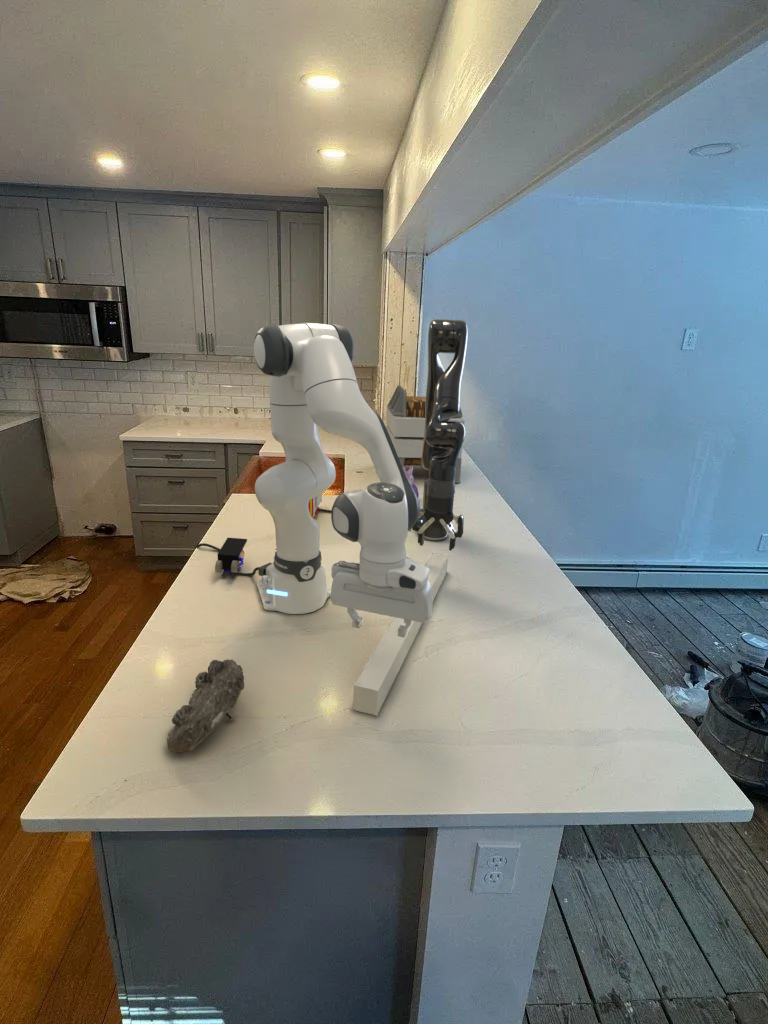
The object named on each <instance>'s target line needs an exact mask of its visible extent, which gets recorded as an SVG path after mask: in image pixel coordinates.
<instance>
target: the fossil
mask: <svg viewBox="0 0 768 1024" xmlns="http://www.w3.org/2000/svg"><path fill="white" fill-rule="evenodd" d="M243 670H244V669H243V667H242V665H240V664H237V662H236V661H235V660H234V659H232V658H231V659H227V658H226V659H224V660H223V661H222V660H217V659H212V660H211V661H210V663H209V665H208V666H207V671H201V672H199V673H198V674H197V675H196V676H195V680H194V684H195V685H194V687H195V689H194V690H193V693H192V694H191V697H190V698H189V700H188V704H184V705H182V706H181V707H180V709H177V710H176V711H175V713H174V715H173V716H172V718H171V723H172V724H173V727H172V730H171V731H170V732H168V734H167V738H166V741H167V742H166V745H167V749H168V750H169V751H173V752H174V753H176V754H178V753H182V752H188V751H189V752H192V751H193V750H195V748H196V747H197V746H199V744H200V743H201V742H203V741H204V740H205V739H206V738H207V737H208V736H209V735H210V734H211V733H212V732H214V730H215V729H217V727H218V726H219V724H220V722H221V721H222V720H223V719H224V718H225V716H226V717H227V719H229V720H233V717H232V715H230V714H229V710H230V709H231V708H234V706H235V704H236V703H237V702H238V699H239V697H240V695H241V693H242V691H243V690H245V689H244V688H245V675H244V671H243Z"/></svg>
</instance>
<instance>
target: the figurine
mask: <svg viewBox="0 0 768 1024" xmlns="http://www.w3.org/2000/svg"><path fill="white" fill-rule="evenodd" d="M402 468H403V470H404V473H405V475H406V477H407V479H408V481H409V483H410V485H411V487H412V488H413V490H414V491H415V493H416V495H417V497H418V498H419V496H420V495H419V494H420V493H419V490H418V487H417V486H416V484H415V478H414V476H413V471H414V466H410V467H408V469H407V468H406V467H405V466H404V467H402Z"/></svg>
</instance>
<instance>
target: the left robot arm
mask: <svg viewBox="0 0 768 1024" xmlns="http://www.w3.org/2000/svg"><path fill="white" fill-rule="evenodd" d="M354 355H355V345H354V340H353V337H352V335H351V333H350V331H349V329H348V328H346V327H345V326H343V325H340V324H336V323H329V324H325V323H317V322H301V323H288V324H281V325H278V324H270V325H267V326H263V327H261V328H260V329H258V331H257V333H256V334H255V336H254V341H253V356H254V359H255V363H256V366H257V367H258V369H259V370H260V371H261V372H262V373H263V374H265V375H267V376H269V411H270V426H271V428H270V429H271V435H272V437H273V438H274V440H275V441H277V442H278V443H280V445H281V446H282V448H283V452H284V455H285V461H284V462H281V463H278V464H276V465H273V466H271V467H269V468H268V469H267V470H265V471H264V472H263V473H261V474H260V475H259V476H258V477H257V478H256V481H255V483H254V494H255V497H256V500H257V502H258V503H259V505H260V506H261V507H262V508H263V509H265V510H266V511H268V512H269V513H270V516H271V518H272V522H273V524H274V529H275V530H274V531H275V549H274V550H275V552H274V556H273V562H268V563H266V564H263V565H261V566H257V567H254V569H253V571H252V572H247V573H245V572H239V571H237V572H236V573H235V575H236V576H245V577H253V576H254V575H255V574H256V573H257V572H258V576H260V577H261V580H258V581H257V585H256V586H257V590H258V594H259V596H260V599H261V602H262V606H263V609H264V610H266V611H276V612H280V613H283V614H288V615H305V614H309V613H312V612H315V611H318V610H320V609H321V608H323V606H324V605H325V604H326V602H327V599H328V598H329V599H330V601H331V603H332V605H334V606H337V607H342V608H346V612H347V614H348V616H349V617H350V619H351V620H352V623H351V624H352V625H351V626H352V628H356V629H361V627H362V626H363V617H362V616H359V614H358V612H357V611H362V612H366V613H371V614H377V615H382V616H387V617H391V618H394V617H396V618H401V619H404V623H406V624H405V625H400V626H399V628H398V636H399V637H404V638H405V637H406V634H407V629H408V627H409V626H410V625H411V623H412V621H416V622H421V623H422V624H425V623H427V622H428V621H429V620H430V618H431V616H432V614H433V606H434V604H433V603H434V600H433V597H432V588H431V585H430V583H429V582H428V581H427V580H428V576H429V569H428V568H427V567H425V565H423V564H421V563H419V562H417V561H415V560H413V559H411V558H410V557H408V556H407V550H406V540H407V537H408V534H409V532H410V531H411V530H412V527H413V526H414V525H415V523H416V521H417V519H418V517H419V514H420V510H421V503H420V500H419V496H418V497H417V495H416V493H415V491H414V490H413V488H412V487H411V485H410V483H409V481H408V479H407V477H406V475H405V473H404V470H403V468H402V465H401V463H400V460H399V458H398V455H397V453H396V450H395V448H394V445H393V443H392V440H391V438H390V436H389V433H388V431H387V429H386V426H387V425H386V424H385V422H384V420H383V419H382V417H381V415H380V414H379V413H378V412H376V411H375V410H373V409H372V408H371V406H369V404H368V403H367V401H366V400H365V398H364V397H363V394H362V393H361V390H360V387H359V383H358V380H357V377H356V373H355V369H354V366H353V364H352V363H353V360H354ZM319 428H320V429H321V430H323V431H324V432H326V433H328V434H331V435H334V436H338V437H341V438H344V439H348V440H350V441H352V442H355V443H356V444H358V445H361V447H363V448H364V449H365V450H366V452H367V453H368V455H369V457H370V460H371V462H372V465H373V467H374V469H375V471H376V474H377V477H378V479H379V482H373V483H370V484H369V485H367V486H366V487H364V488H362V489H356V490H349V491H345V492H342V493H340V494H339V495H338V496H337V497H336V498H335V499H334V502H333V504H332V506H331V510H332V513H330V514H331V524H332V527H333V530H334V531H335V532H336V533H337V534H338V535H339V536H341V537H342V538H344V539H346V540H348V541H350V542H353V543H358V544H359V545H360V551H359V563H356V562H351V561H350V562H349V561H346V560H339V561H336V562H334V563H333V564H332V566H331V578H332V583H331V589H329V588H327V587H328V586H327V575H326V573H327V572H326V568H324V567H323V566H322V560H323V559H322V557H323V556H322V552H321V550H320V537H321V536H320V533H321V532H320V530H321V528H320V524H319V522H318V521H317V520H316V519H315V518H314V517H313V518H312V517H311V515H310V512H309V507H308V505H309V501H310V499H312V498H315V497H317V496H319V495H321V494H322V495H323V494H324V493H325V492H326V491H328V490H329V489H330V487H332V486H333V484H334V483H335V481H336V478H337V477H336V476H337V471H336V468H335V467H336V466H335V464H334V462H333V461H332V460H331V458H329V457H328V456H327V455H326V452H325V451H324V448H323V445H322V442H321V438H320V432H319V431H320V430H319ZM200 547H208V548H210V549H213V550H215V551H217V552H219V551H220V549H221V548H219V547H217V546H216V545H215V546H214V545H212V544H209V543H205V542H204V543H198V544H197V545H195V548H196V549H198V548H200ZM230 574H231V575H232V574H233V572H230ZM235 575H234V576H235Z"/></svg>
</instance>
